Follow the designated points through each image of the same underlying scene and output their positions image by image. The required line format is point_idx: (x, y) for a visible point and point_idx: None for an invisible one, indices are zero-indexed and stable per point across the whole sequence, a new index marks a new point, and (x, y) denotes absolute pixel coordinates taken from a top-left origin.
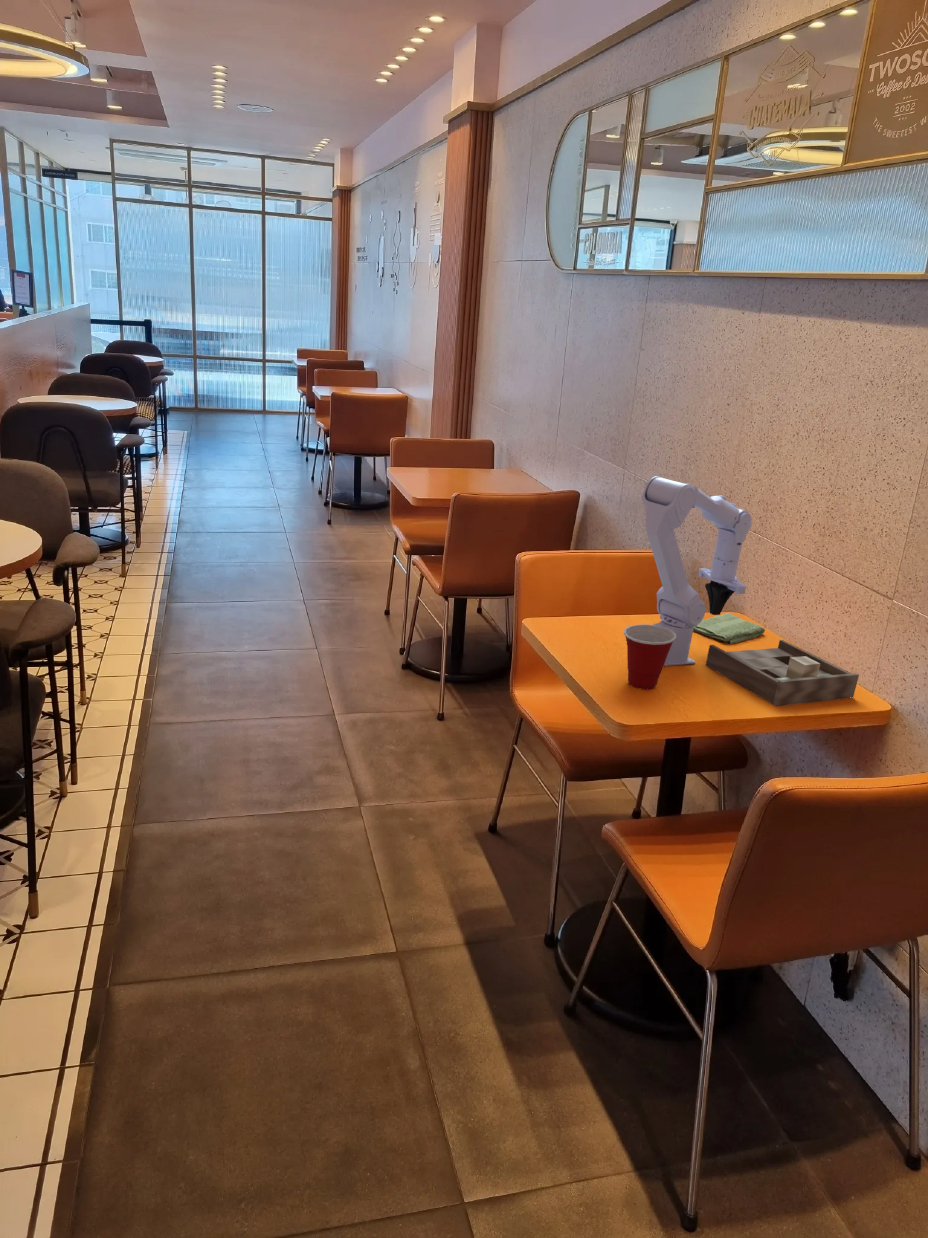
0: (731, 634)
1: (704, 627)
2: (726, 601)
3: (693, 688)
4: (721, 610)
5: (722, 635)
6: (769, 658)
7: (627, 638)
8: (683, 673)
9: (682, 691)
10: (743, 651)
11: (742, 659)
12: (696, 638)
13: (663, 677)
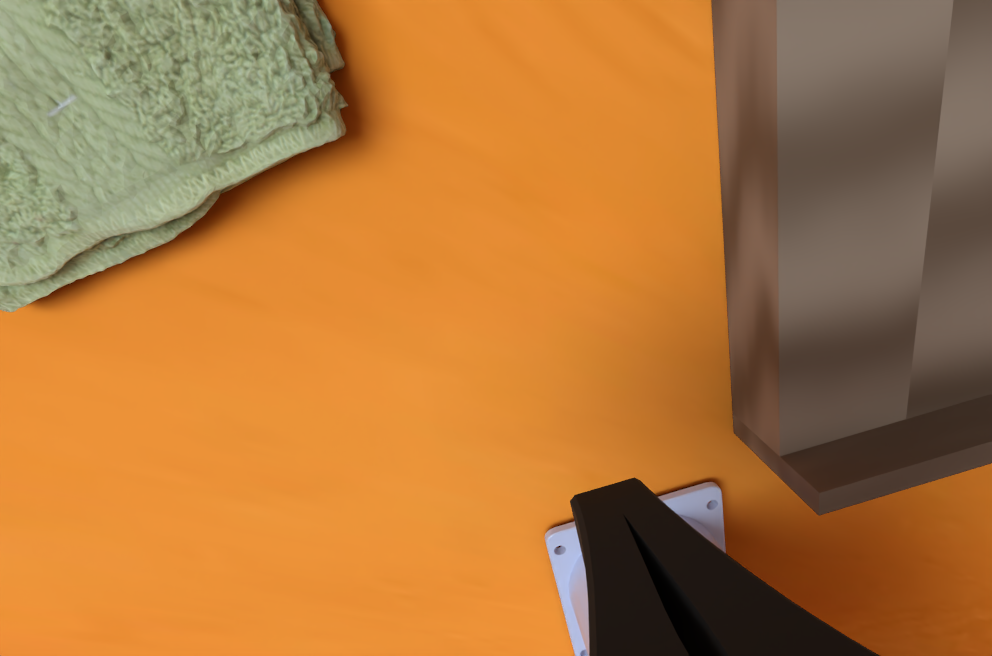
0: (280, 39)
1: (94, 233)
2: (800, 611)
3: (937, 559)
4: (672, 514)
5: (304, 147)
6: (967, 49)
7: None
8: (801, 556)
9: (944, 600)
10: (795, 213)
11: (918, 301)
12: (260, 317)
13: None
